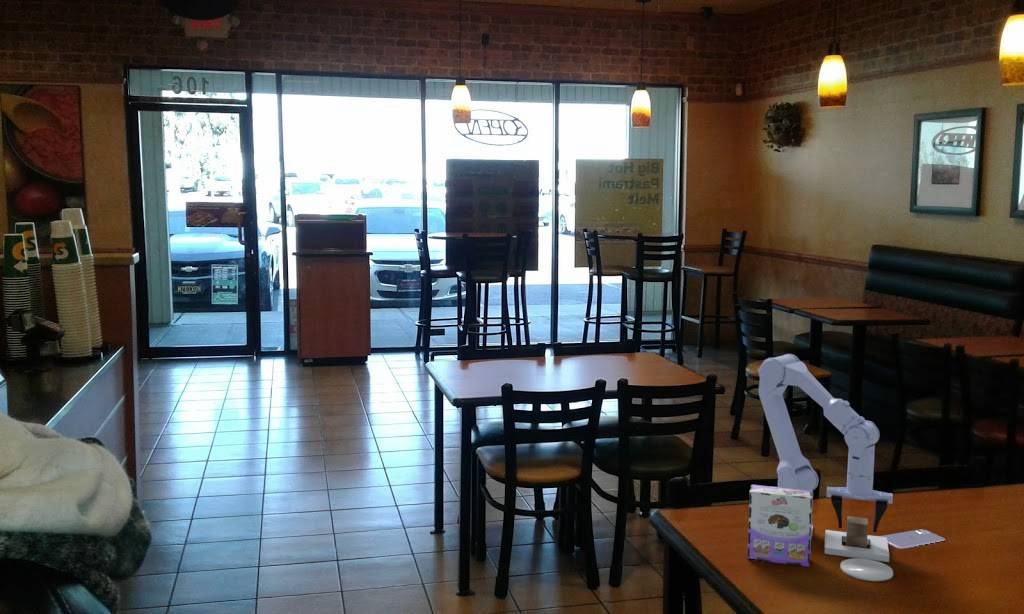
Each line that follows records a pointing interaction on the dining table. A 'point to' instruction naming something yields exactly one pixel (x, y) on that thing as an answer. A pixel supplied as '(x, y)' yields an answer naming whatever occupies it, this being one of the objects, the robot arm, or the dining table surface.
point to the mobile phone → (912, 538)
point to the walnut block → (857, 532)
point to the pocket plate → (875, 552)
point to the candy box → (780, 525)
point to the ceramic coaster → (866, 569)
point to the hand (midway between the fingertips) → (857, 528)
